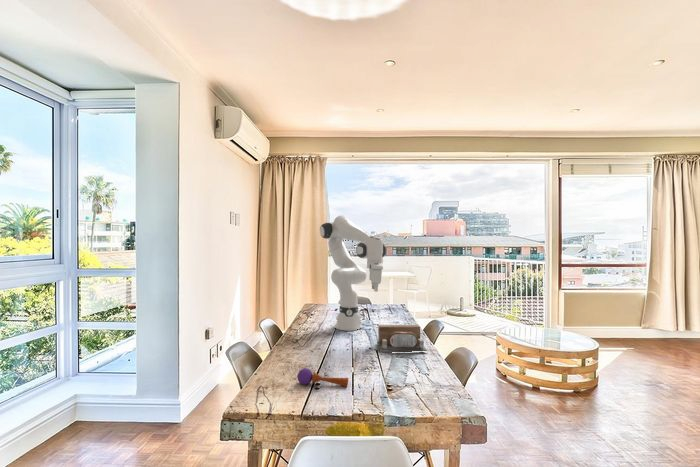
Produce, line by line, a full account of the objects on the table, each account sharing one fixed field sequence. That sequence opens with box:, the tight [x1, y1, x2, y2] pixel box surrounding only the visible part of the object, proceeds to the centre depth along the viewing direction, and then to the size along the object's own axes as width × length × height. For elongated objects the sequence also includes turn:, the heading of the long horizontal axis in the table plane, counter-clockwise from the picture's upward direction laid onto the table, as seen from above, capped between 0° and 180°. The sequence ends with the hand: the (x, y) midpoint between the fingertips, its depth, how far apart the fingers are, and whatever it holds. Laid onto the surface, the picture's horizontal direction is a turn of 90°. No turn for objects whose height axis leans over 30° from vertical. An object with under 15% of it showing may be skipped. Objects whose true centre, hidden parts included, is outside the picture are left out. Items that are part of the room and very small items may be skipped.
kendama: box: [297, 367, 349, 388], centre depth 136 cm, size 6×6×20 cm
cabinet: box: [376, 324, 428, 354], centre depth 182 cm, size 16×23×10 cm
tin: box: [388, 331, 418, 347], centre depth 178 cm, size 15×3×8 cm, turn 89°
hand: (374, 290), depth 193 cm, fingers open, 8 cm apart
